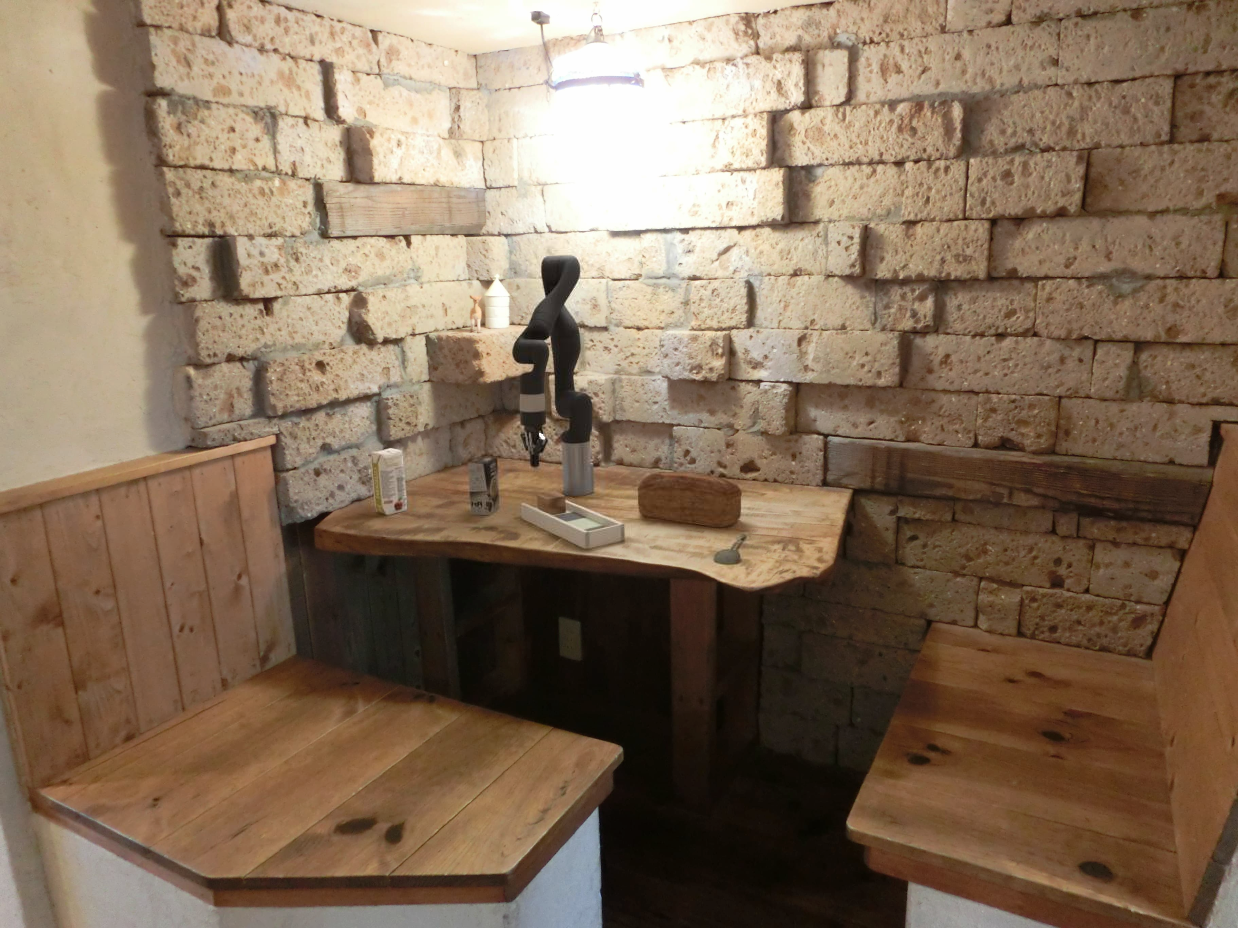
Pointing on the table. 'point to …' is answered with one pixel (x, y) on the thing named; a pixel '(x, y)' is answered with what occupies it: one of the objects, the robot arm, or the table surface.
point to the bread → (690, 498)
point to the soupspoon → (729, 554)
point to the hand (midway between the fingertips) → (534, 466)
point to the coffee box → (483, 485)
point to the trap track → (577, 525)
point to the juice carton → (388, 481)
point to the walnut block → (551, 503)
